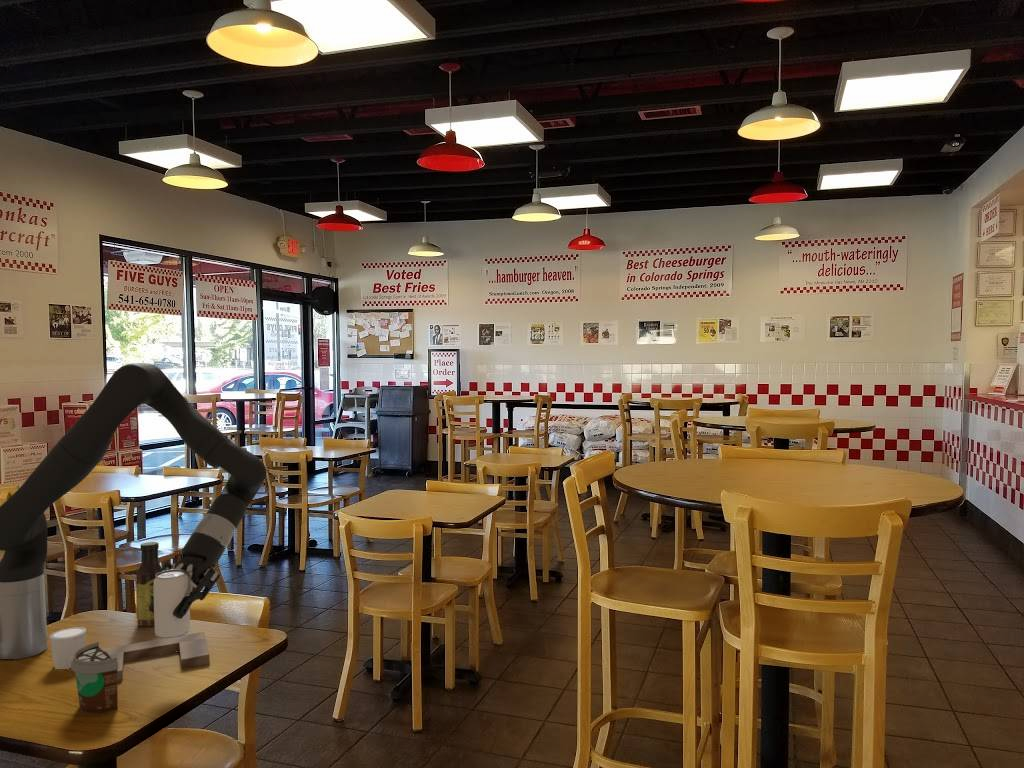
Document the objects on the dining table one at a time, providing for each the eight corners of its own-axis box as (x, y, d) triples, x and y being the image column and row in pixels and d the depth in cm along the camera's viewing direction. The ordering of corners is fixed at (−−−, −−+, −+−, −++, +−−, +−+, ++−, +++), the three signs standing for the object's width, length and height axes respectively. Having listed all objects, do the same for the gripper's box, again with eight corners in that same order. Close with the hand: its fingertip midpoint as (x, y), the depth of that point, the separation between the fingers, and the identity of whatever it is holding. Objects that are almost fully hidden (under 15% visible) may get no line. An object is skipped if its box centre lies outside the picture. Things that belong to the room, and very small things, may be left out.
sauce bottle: (154, 628, 180) (151, 547, 180) (131, 627, 181) (128, 546, 181) (171, 619, 187) (168, 540, 186) (148, 618, 188) (145, 540, 187)
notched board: (91, 685, 149) (91, 675, 149) (96, 658, 163) (95, 649, 163) (209, 663, 159) (209, 654, 159) (204, 640, 172) (204, 631, 172)
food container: (64, 701, 143) (62, 650, 142) (99, 690, 147) (97, 640, 147) (83, 723, 134) (80, 668, 133) (120, 711, 138) (117, 658, 138)
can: (177, 640, 145) (175, 579, 144) (147, 637, 146) (145, 577, 146) (197, 627, 151) (195, 569, 151) (168, 625, 153) (167, 567, 152)
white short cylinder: (76, 655, 165) (75, 624, 164) (94, 661, 161) (93, 629, 161) (44, 667, 159) (42, 635, 159) (61, 673, 155) (60, 640, 155)
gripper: (173, 528, 158) (126, 601, 147) (225, 534, 152) (180, 610, 142) (194, 546, 163) (150, 618, 152) (245, 553, 157) (202, 628, 147)
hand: (164, 614), depth 147 cm, fingers closed on can, 6 cm apart
